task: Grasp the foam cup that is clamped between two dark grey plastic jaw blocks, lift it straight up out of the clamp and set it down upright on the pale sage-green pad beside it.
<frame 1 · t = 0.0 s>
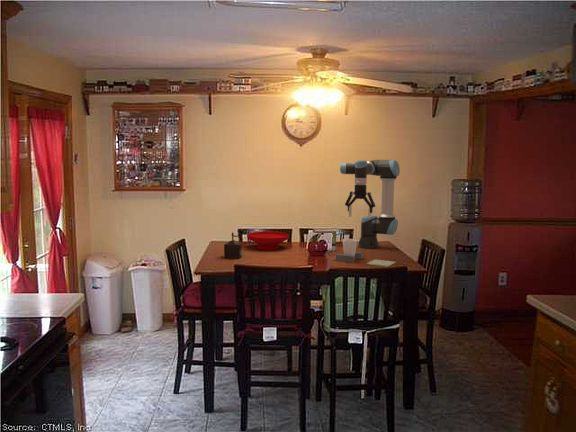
hand: (359, 217, 338), 28 cm above the table, fingers open, 13 cm apart
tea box: (323, 250, 376), on the table
clamp: (349, 259, 342), on the table
bowl: (268, 248, 383), on the table
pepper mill: (234, 256, 349), on the table
pad: (381, 263, 331), on the table
foam cup: (349, 259, 342), on the table
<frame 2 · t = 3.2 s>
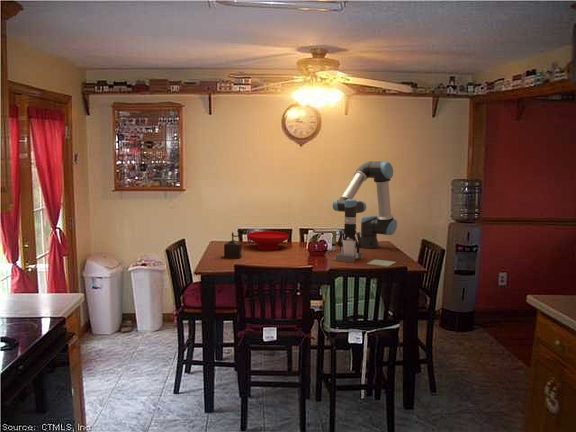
hand: (349, 257, 342), 2 cm above the table, fingers closed on foam cup, 9 cm apart
foam cup: (349, 259, 342), on the table, touching gripper
everything else where it was.
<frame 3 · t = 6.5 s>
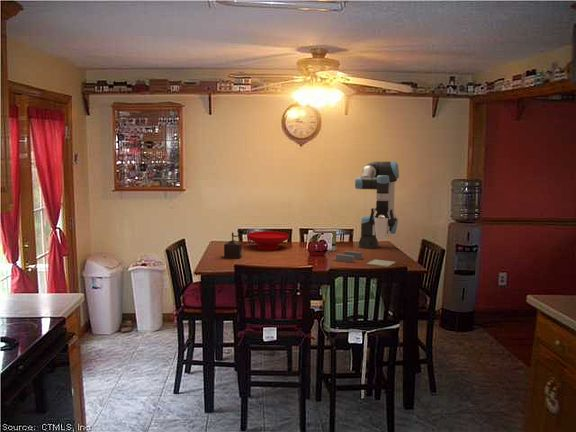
hand: (381, 235, 329), 18 cm above the table, fingers closed on foam cup, 9 cm apart
foam cup: (381, 238, 329), point 16 cm above the table, touching gripper
everything else where it was.
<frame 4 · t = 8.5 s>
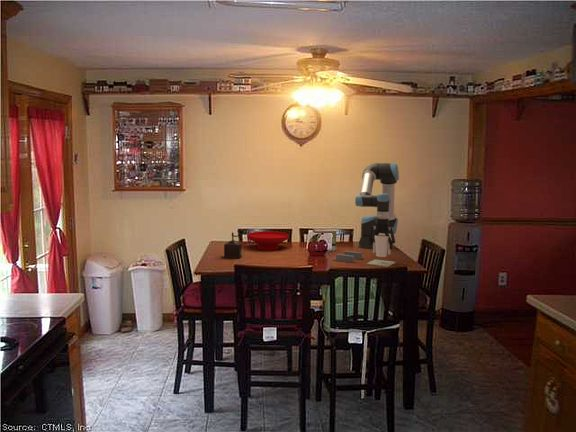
hand: (381, 253, 330), 6 cm above the table, fingers closed on foam cup, 9 cm apart
foam cup: (381, 256, 330), point 5 cm above the table, touching gripper
everything else where it was.
when the fingers open (4 cm above the table, at t = 9.9 s): foam cup drops 2 cm, resting on pad.
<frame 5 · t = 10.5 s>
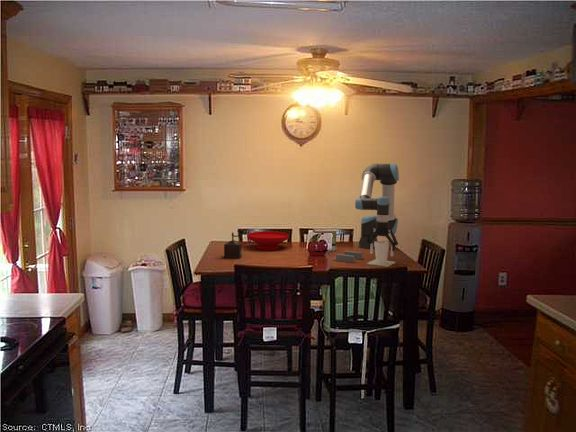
hand: (381, 254, 330), 6 cm above the table, fingers open, 13 cm apart
foam cup: (381, 262, 330), resting on pad
everything else where it was.
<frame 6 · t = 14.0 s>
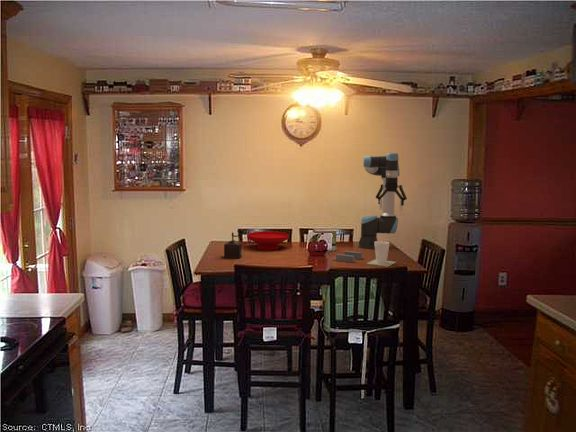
hand: (390, 210, 339), 33 cm above the table, fingers open, 13 cm apart
nothing on the table moved.
at the end: foam cup inside the target area on the pad (0.2 cm from its centre), point 0.4 cm above the pad's base; foam cup tilted 0°; the gripper is holding nothing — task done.
